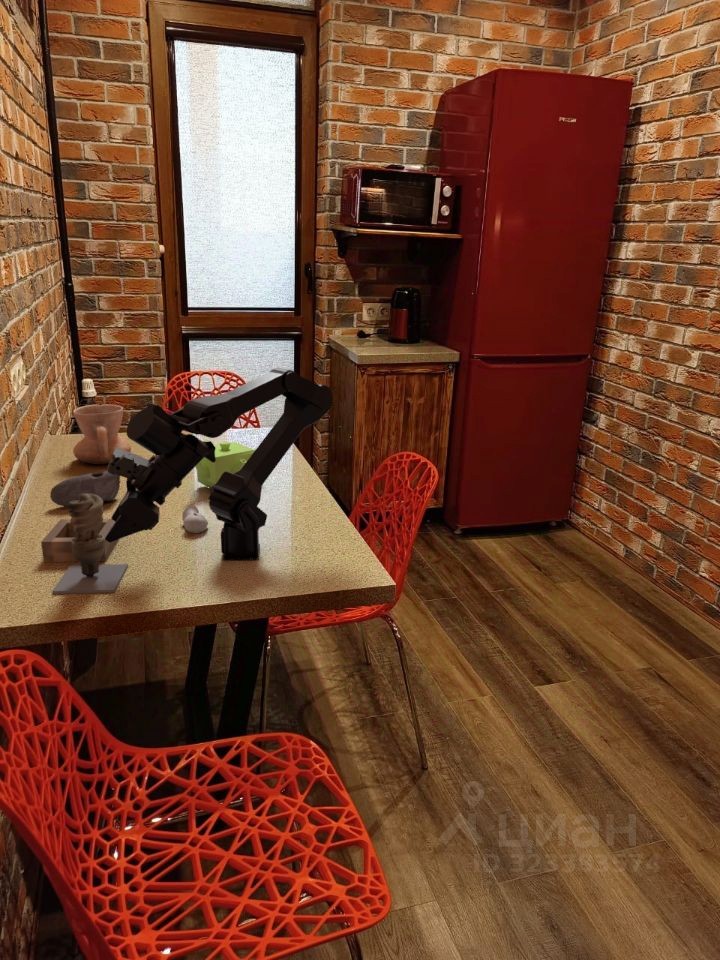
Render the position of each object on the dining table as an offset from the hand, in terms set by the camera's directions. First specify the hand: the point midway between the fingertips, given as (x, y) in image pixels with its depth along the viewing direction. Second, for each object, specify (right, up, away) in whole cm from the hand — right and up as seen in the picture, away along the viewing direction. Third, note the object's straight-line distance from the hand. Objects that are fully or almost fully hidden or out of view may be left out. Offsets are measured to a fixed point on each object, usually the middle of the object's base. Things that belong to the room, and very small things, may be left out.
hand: (110, 529), depth 118 cm
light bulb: (-4, -8, +2) cm, 9 cm away
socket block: (-10, -5, +14) cm, 18 cm away
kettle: (+10, +7, +50) cm, 51 cm away
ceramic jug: (-26, +13, +67) cm, 74 cm away
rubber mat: (-4, -9, +2) cm, 10 cm away
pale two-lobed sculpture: (+9, -2, +25) cm, 27 cm away
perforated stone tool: (-18, +3, +37) cm, 41 cm away
